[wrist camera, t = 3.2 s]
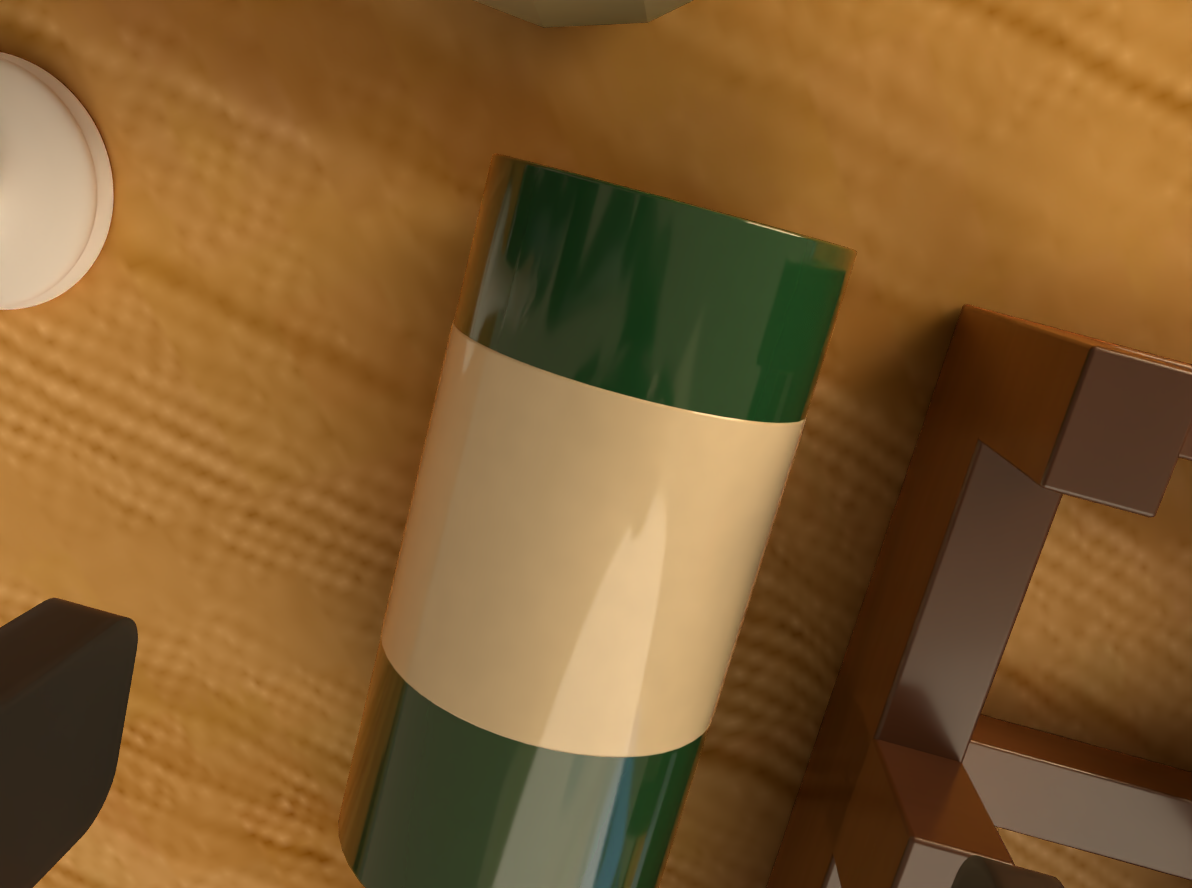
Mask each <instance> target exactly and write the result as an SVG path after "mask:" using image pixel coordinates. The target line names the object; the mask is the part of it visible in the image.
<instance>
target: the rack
mask: <svg viewBox="0 0 1192 888" xmlns="http://www.w3.org/2000/svg"><path fill="white" fill-rule="evenodd" d="M1178 458H1183V459H1187V460H1191V461H1192V364H1188V363H1184V362H1180V361H1177V360H1173V359H1169V358H1166V357H1162V356H1158V355H1154V354H1151V353H1147V352H1143V351H1140V350H1136V349H1132V348H1128V347H1125V346H1121V345H1117V344H1114V343H1110V342H1106V341H1102V340H1099V339H1095V338H1091V337H1087V336H1084V335H1080V334H1076V333H1073V332H1069V331H1065V330H1061V329H1058V328H1054V327H1049V326H1046V325H1043V324H1039V323H1035V322H1032V321H1028V320H1024V319H1020V318H1017V317H1013V316H1009V315H1006V314H1002V313H998V312H994V311H991V310H987V309H983V308H980V307H976V306H972V305H968V304H966V305H964V306H963V307H962V310H961V313H960V316H959V319H958V322H957V325H956V328H955V331H954V334H953V337H952V340H951V343H950V346H949V349H948V351H947V354H946V357H945V360H944V363H943V366H942V369H941V372H940V375H939V378H938V381H937V384H936V387H935V390H934V393H933V396H932V399H931V403H930V406H929V409H928V412H927V415H926V418H925V421H924V423H923V426H922V429H921V432H920V435H919V438H918V441H917V444H916V447H915V450H914V453H913V456H912V459H911V462H910V465H909V468H908V471H907V474H906V477H905V480H904V483H903V486H902V488H901V491H900V494H899V497H898V500H897V503H896V506H895V509H894V512H893V515H892V518H891V521H890V524H889V527H888V530H887V533H886V536H885V539H884V542H883V545H882V548H881V551H880V554H879V556H878V559H877V562H876V565H875V568H874V571H873V574H872V577H871V580H870V583H869V586H868V589H867V592H866V595H865V598H864V601H863V604H862V607H861V610H860V613H859V616H858V619H857V621H856V624H855V627H854V630H853V633H852V636H851V639H850V642H849V645H848V648H847V651H846V654H845V657H844V660H843V662H842V665H841V668H840V671H839V674H838V677H837V680H836V683H835V686H834V689H833V692H832V695H831V698H830V701H829V704H828V707H827V710H826V713H825V716H824V719H823V722H822V724H821V727H820V730H819V733H818V736H817V739H816V742H815V745H814V748H813V751H812V754H811V757H810V760H809V763H808V766H807V769H806V772H805V775H804V778H803V781H802V784H801V787H800V790H799V793H798V796H797V799H796V802H795V805H794V808H793V811H792V814H791V817H790V819H789V822H788V825H787V828H786V831H785V834H784V837H783V840H782V843H781V846H780V849H779V852H778V855H777V858H776V861H775V864H774V867H773V870H772V873H771V876H770V879H769V882H768V885H767V887H766V888H951V886H952V884H953V881H954V879H955V876H956V874H957V872H958V870H959V868H960V866H961V865H962V864H963V862H964V861H965V860H966V859H967V858H968V857H970V856H972V855H978V856H981V857H985V858H989V859H992V860H996V861H999V862H1003V863H1007V864H1010V865H1014V866H1015V864H1014V862H1013V860H1012V858H1011V856H1010V855H1009V853H1008V851H1007V849H1006V847H1005V845H1004V843H1003V841H1002V839H1001V837H1000V835H999V833H998V831H997V829H996V828H995V826H996V827H1000V828H1003V829H1007V830H1011V831H1014V832H1018V833H1021V834H1025V835H1029V836H1032V837H1036V838H1040V839H1043V840H1047V841H1050V842H1054V843H1058V844H1061V845H1065V846H1068V847H1072V848H1076V849H1079V850H1083V851H1087V852H1090V853H1094V854H1097V855H1101V856H1105V857H1108V858H1112V859H1116V860H1119V861H1123V862H1126V863H1130V864H1134V865H1137V866H1141V867H1145V868H1148V869H1152V870H1155V871H1159V872H1163V873H1166V874H1170V875H1174V876H1177V877H1181V878H1184V879H1188V880H1192V772H1188V771H1185V770H1181V769H1177V768H1174V767H1170V766H1167V765H1163V764H1159V763H1156V762H1152V761H1148V760H1145V759H1141V758H1137V757H1134V756H1130V755H1126V754H1123V753H1119V752H1116V751H1112V750H1108V749H1105V748H1101V747H1097V746H1094V745H1090V744H1086V743H1083V742H1079V741H1075V740H1072V739H1068V738H1065V737H1061V736H1057V735H1054V734H1050V733H1046V732H1043V731H1039V730H1035V729H1032V728H1028V727H1024V726H1021V725H1017V724H1014V723H1010V722H1006V721H1003V720H999V719H995V718H992V717H988V716H984V715H981V711H982V708H983V706H984V703H985V700H986V698H987V695H988V692H989V690H990V687H991V684H992V682H993V679H994V676H995V674H996V671H997V668H998V666H999V663H1000V660H1001V658H1002V655H1003V652H1004V650H1005V647H1006V644H1007V642H1008V639H1009V636H1010V634H1011V631H1012V628H1013V626H1014V623H1015V620H1016V618H1017V615H1018V612H1019V610H1020V607H1021V604H1022V602H1023V599H1024V596H1025V594H1026V591H1027V588H1028V586H1029V583H1030V580H1031V578H1032V575H1033V572H1034V570H1035V567H1036V564H1037V561H1038V559H1039V556H1040V553H1041V551H1042V548H1043V545H1044V543H1045V540H1046V537H1047V535H1048V532H1049V529H1050V527H1051V524H1052V521H1053V519H1054V516H1055V513H1056V511H1057V508H1058V505H1059V503H1060V500H1061V497H1062V495H1063V494H1064V495H1068V496H1072V497H1076V498H1079V499H1083V500H1087V501H1090V502H1094V503H1098V504H1101V505H1105V506H1109V507H1112V508H1116V509H1120V510H1124V511H1127V512H1131V513H1135V514H1138V515H1142V516H1146V517H1154V516H1155V515H1156V513H1157V510H1158V508H1159V505H1160V503H1161V500H1162V498H1163V495H1164V493H1165V490H1166V488H1167V485H1168V483H1169V480H1170V478H1171V475H1172V473H1173V470H1174V468H1175V465H1176V463H1177V460H1178Z"/></svg>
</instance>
